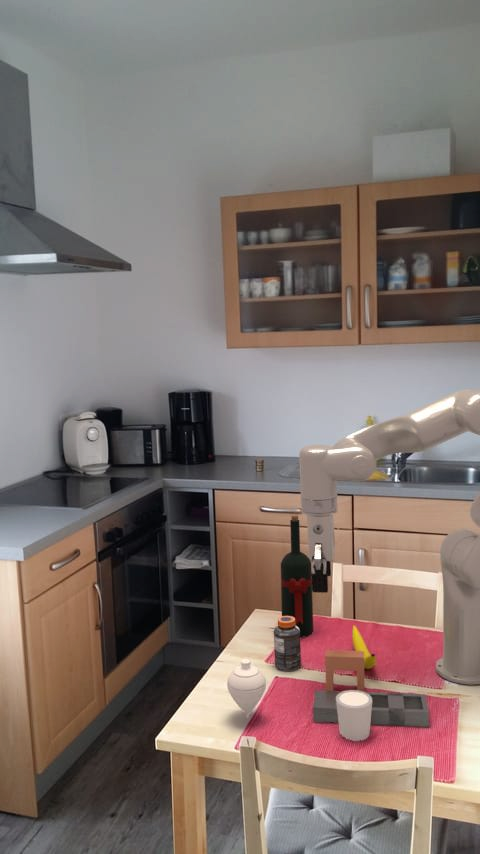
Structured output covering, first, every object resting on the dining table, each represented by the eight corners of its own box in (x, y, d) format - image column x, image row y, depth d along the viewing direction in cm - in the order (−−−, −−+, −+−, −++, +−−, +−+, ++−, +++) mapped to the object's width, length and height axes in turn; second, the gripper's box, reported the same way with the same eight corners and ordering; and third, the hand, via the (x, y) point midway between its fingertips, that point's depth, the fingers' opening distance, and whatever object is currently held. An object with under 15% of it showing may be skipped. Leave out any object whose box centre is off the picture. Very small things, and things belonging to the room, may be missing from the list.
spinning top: (254, 731, 144) (252, 672, 143) (221, 721, 149) (218, 664, 147) (274, 713, 151) (272, 656, 149) (241, 704, 155) (239, 649, 153)
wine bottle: (283, 642, 184) (280, 522, 179) (281, 625, 194) (277, 512, 189) (316, 641, 184) (313, 521, 179) (311, 624, 194) (309, 510, 190)
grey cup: (332, 724, 146) (332, 690, 145) (367, 722, 147) (367, 688, 146) (340, 744, 139) (339, 708, 138) (377, 741, 140) (376, 706, 139)
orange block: (364, 686, 160) (363, 651, 159) (364, 693, 157) (364, 657, 156) (326, 685, 162) (325, 650, 160) (326, 692, 159) (325, 656, 158)
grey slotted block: (425, 708, 151) (425, 694, 150) (429, 727, 144) (429, 712, 143) (315, 703, 154) (314, 690, 154) (313, 721, 147) (313, 707, 147)
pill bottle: (301, 660, 174) (300, 613, 172) (300, 672, 168) (299, 623, 166) (275, 660, 175) (274, 613, 173) (274, 671, 169) (272, 623, 167)
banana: (360, 644, 181) (360, 619, 180) (380, 681, 162) (380, 654, 161) (348, 645, 181) (348, 620, 180) (367, 682, 162) (366, 654, 161)
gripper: (335, 515, 148) (337, 599, 150) (339, 494, 165) (341, 570, 167) (296, 515, 149) (300, 598, 152) (304, 495, 166) (307, 569, 169)
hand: (321, 583), depth 159 cm, fingers open, 9 cm apart
